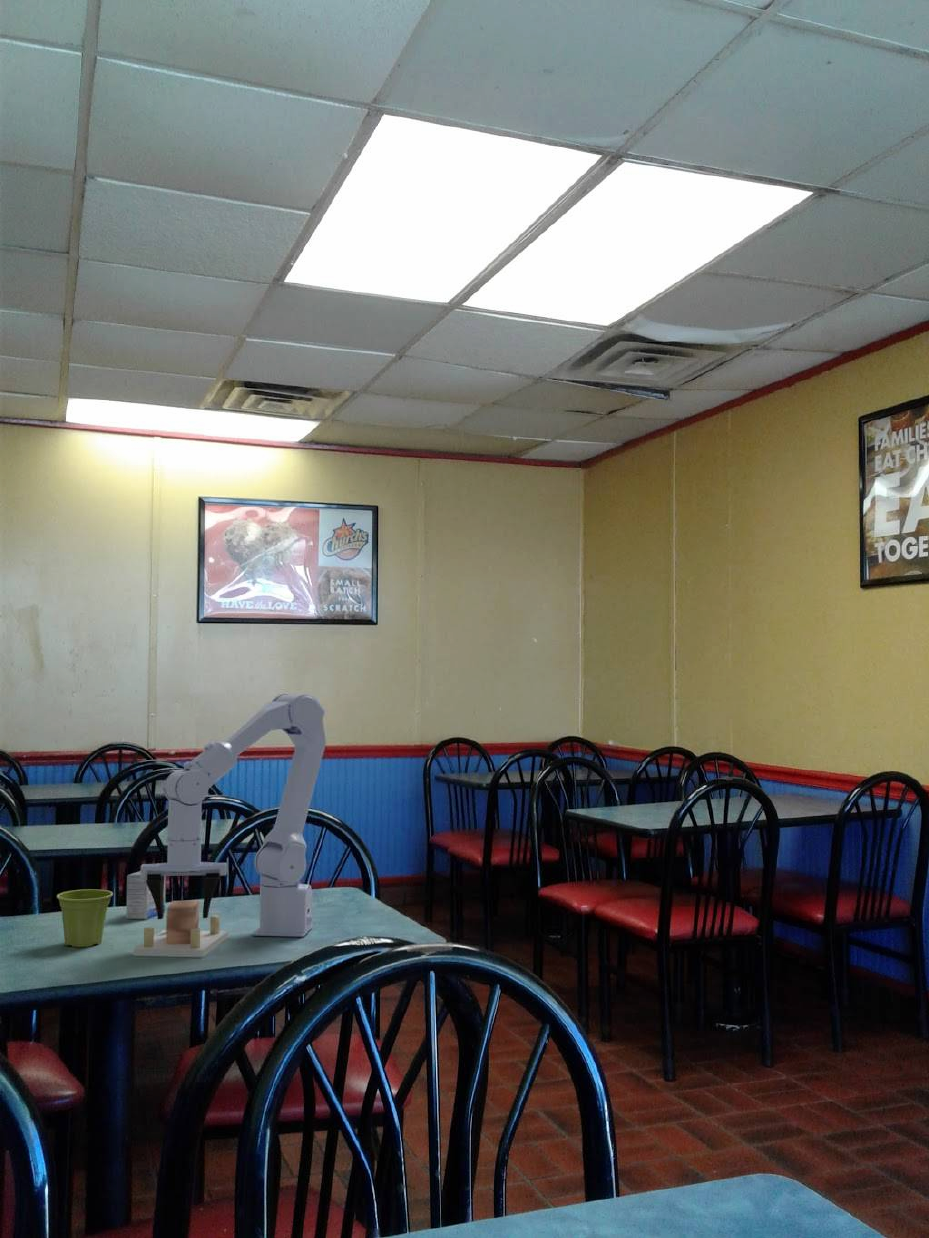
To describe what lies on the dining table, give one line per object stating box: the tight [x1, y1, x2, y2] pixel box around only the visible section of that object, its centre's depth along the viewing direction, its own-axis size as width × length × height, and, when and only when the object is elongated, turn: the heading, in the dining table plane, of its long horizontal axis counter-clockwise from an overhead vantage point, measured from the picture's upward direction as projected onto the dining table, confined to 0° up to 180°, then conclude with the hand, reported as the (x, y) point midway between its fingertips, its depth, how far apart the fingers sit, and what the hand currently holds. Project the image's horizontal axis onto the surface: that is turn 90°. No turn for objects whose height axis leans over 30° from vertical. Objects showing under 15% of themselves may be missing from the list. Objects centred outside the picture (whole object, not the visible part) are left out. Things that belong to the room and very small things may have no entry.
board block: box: [166, 899, 200, 944], centre depth 188 cm, size 4×7×6 cm, turn 7°
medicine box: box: [126, 870, 167, 921], centre depth 213 cm, size 8×4×9 cm, turn 168°
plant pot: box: [56, 888, 114, 948], centre depth 190 cm, size 9×9×9 cm
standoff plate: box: [133, 914, 229, 958], centre depth 187 cm, size 12×14×4 cm
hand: (183, 917), depth 188 cm, fingers open, 7 cm apart
